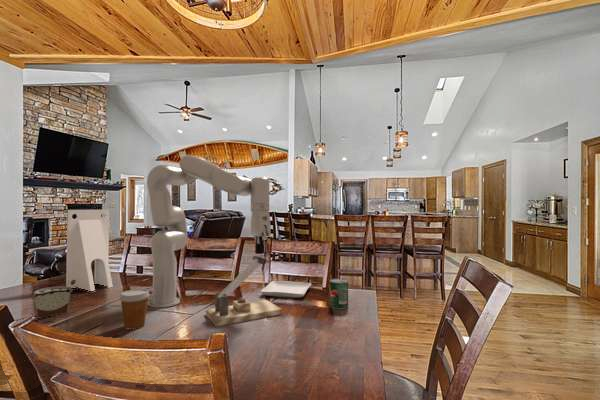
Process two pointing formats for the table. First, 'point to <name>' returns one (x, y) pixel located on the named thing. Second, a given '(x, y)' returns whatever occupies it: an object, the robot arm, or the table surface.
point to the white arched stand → (88, 249)
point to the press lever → (243, 275)
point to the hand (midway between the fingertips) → (259, 253)
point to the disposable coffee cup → (134, 307)
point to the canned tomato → (339, 293)
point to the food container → (52, 300)
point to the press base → (244, 316)
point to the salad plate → (286, 289)
